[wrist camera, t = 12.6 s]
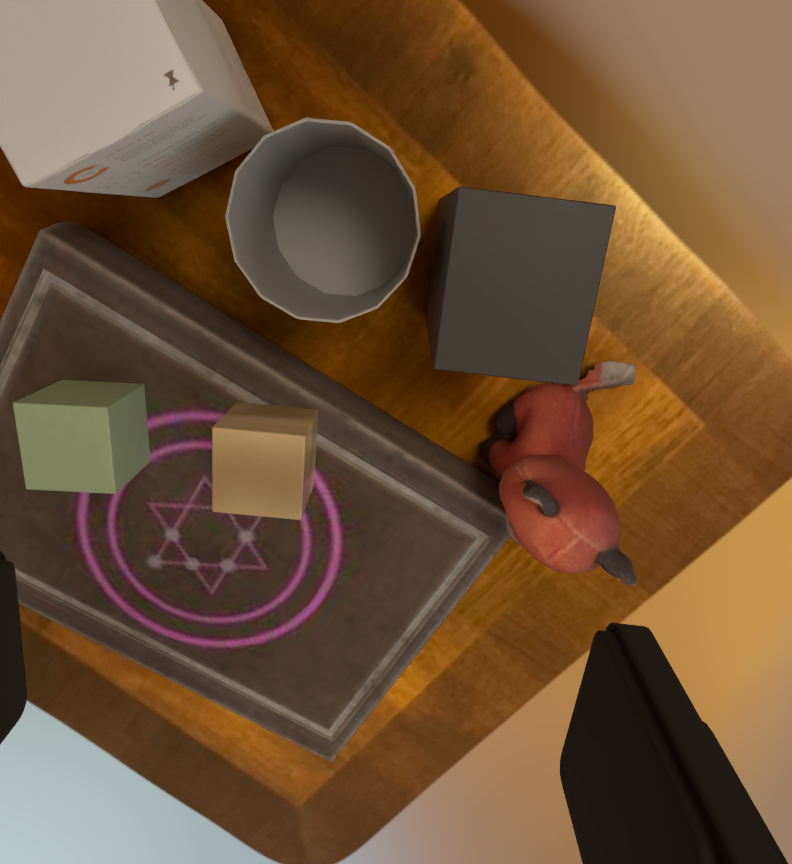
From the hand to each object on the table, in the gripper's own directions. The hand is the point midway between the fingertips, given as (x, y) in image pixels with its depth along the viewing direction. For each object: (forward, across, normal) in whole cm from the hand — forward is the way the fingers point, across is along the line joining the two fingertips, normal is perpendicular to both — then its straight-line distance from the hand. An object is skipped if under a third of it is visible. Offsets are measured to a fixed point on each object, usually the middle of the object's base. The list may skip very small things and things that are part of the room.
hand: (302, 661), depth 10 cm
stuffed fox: (+30, -12, +5) cm, 33 cm away
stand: (+30, -5, -4) cm, 31 cm away
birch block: (+25, +5, +6) cm, 26 cm away
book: (+30, +9, +13) cm, 34 cm away
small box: (+30, +12, -10) cm, 34 cm away
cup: (+30, +3, -6) cm, 31 cm away
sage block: (+25, +15, +6) cm, 30 cm away
